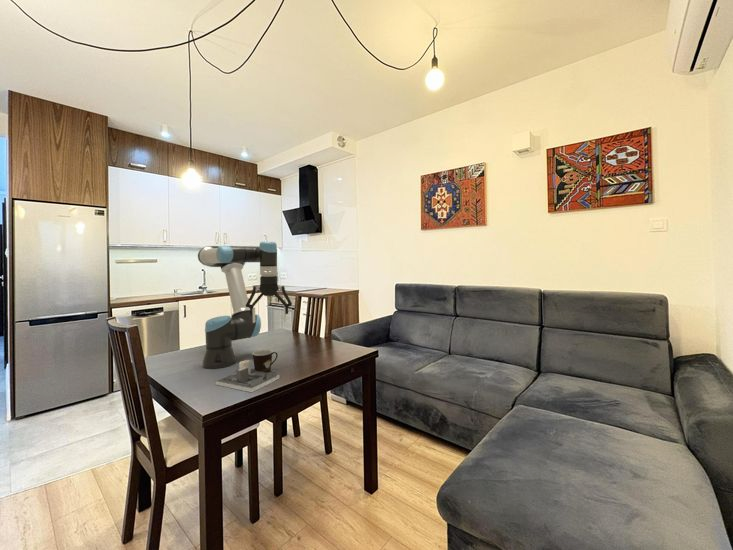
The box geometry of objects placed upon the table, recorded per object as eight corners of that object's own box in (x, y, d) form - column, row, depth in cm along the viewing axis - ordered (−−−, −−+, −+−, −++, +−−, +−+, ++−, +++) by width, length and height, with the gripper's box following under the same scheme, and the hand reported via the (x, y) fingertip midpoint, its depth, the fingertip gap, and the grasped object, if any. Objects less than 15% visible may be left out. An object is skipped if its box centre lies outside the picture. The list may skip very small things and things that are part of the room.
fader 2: (236, 382, 128) (236, 369, 128) (244, 379, 132) (243, 366, 131) (240, 383, 127) (240, 370, 127) (248, 379, 131) (248, 367, 130)
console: (215, 384, 131) (215, 375, 130) (245, 372, 145) (245, 363, 145) (251, 392, 122) (251, 382, 122) (279, 378, 136) (279, 369, 136)
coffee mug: (254, 379, 137) (253, 356, 136) (251, 373, 145) (251, 351, 144) (281, 374, 142) (280, 352, 142) (277, 368, 150) (276, 348, 149)
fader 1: (239, 373, 138) (239, 362, 138) (246, 370, 142) (246, 359, 142) (243, 374, 137) (243, 362, 137) (250, 371, 141) (250, 360, 141)
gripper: (238, 276, 138) (239, 324, 139) (296, 275, 143) (297, 322, 144) (241, 275, 145) (242, 321, 146) (296, 274, 150) (297, 318, 151)
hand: (269, 321), depth 145 cm, fingers open, 13 cm apart
